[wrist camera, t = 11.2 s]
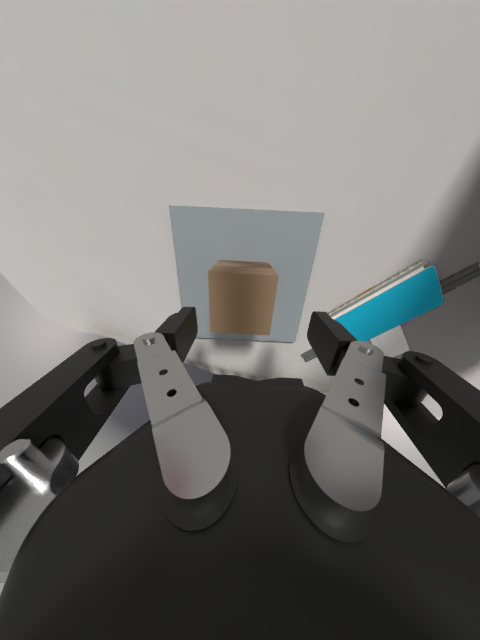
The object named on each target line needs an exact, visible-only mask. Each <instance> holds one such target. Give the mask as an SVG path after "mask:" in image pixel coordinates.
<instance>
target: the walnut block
mask: <svg viewBox="0 0 480 640" xmlns="http://www.w3.org/2000/svg"><path fill="white" fill-rule="evenodd" d="M278 277H279V275H278V274H277V273H276V271H275V270H274V269H273V268H272V266H271V265H270V264H269V263H268V262H250V261H232V260H219V261H218V262H217V263H216V264H215V265H214V266H213V267H212V268H211V269H210V270H209V271H208V284H209V312H210V332H214V333H233V334H251V335H269V336H270V330H271V324H272V317H273V310H274V304H275V297H276V290H277V284H278Z"/></svg>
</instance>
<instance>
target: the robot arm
mask: <svg viewBox="0 0 480 640" xmlns="http://www.w3.org/2000/svg"><path fill="white" fill-rule="evenodd" d="M197 333H198V325H197V315H196V309H195V307H183V308H182V309H181V310H180V311H179V312H178V313H175V314H173V315H171V316H169V317H168V318H167V319H166V321H165V322H164V323H163V324H162V325H161V326H160V327H159V328H158V329H157V330H156V331H155V332H153V333H147V334H144V335H141V336H139V337H138V338H136V339H135V341H134V344H130V345H123V346H118V345H117V342H116V340H115V339H113V338H104V339H98V340H95V341H92V342H90V343H88V344H86V345H85V346H83V347H82V348H81V349H79V350H78V351H77V352H75V353H74V354H73V355H71V356H70V357H69V358H67V359H66V360H65V361H63V362H62V363H61V364H59V365H58V366H57V367H55V368H54V369H53V370H52V371H50V372H49V373H47V374H46V375H45V376H43V377H42V378H41V379H40V380H38V381H37V382H35V383H34V384H33V385H31V386H30V387H29V388H27V389H26V390H25V391H23V392H22V393H21V394H19V395H18V396H17V397H15V398H14V399H13V400H11V401H10V402H9V403H7V404H6V405H5V406H3V407H2V408H1V409H0V583H5V585H4V587H3V590H2V593H1V595H0V640H480V391H479V390H478V389H477V388H475V387H474V386H472V385H471V384H470V383H468V382H467V381H466V380H464V379H463V378H461V377H460V376H459V375H457V374H456V373H454V372H453V371H452V370H450V369H449V368H448V367H446V366H445V365H443V364H442V363H441V362H439V361H438V360H436V359H434V358H432V357H430V356H427V355H425V354H422V353H418V352H412V351H407V352H404V354H403V355H402V357H401V359H397V358H393V357H388V356H384V353H383V351H382V350H381V349H380V348H378V347H377V346H375V345H373V344H370V343H367V342H364V341H358V340H357V339H356V338H355V337H354V336H353V335H352V334H351V333H350V332H348V330H347V329H346V328H345V327H344V326H343V325H342V324H341V323H339V322H338V321H336V320H334V319H332V318H331V317H330V316H329V315H328V314H327V313H326V312H313V313H312V315H311V319H310V324H309V328H308V332H307V338H308V341H309V343H310V345H311V346H312V348H313V350H314V352H315V354H316V356H317V357H318V359H319V361H320V363H321V365H322V366H323V368H324V370H325V372H326V374H327V375H329V376H335V378H334V380H333V382H332V384H331V386H330V389H329V391H328V393H327V395H326V396H325V395H324V394H322V393H320V392H319V391H317V390H314V389H312V388H309V387H306V386H304V385H303V382H302V379H297V378H274V379H268V380H262V381H254V380H251V379H247V378H243V377H239V376H234V375H213V379H212V381H210V382H206V383H203V384H200V385H198V386H195V385H194V383H193V381H192V380H191V378H190V376H189V374H188V373H187V371H186V369H185V367H184V365H183V362H184V360H185V358H186V356H187V354H188V352H189V350H190V348H191V346H192V344H193V342H194V340H195V338H196V336H197ZM94 378H95V380H96V382H97V385H96V386H95V387H94V388H93V389H92V390H91V391H90V393H89V394H88V395H87V396H86V397H84V391H85V388H86V386H87V385H88V384H89V383H90V382H91V381H92V380H93V379H94ZM140 383H142V385H143V390H144V394H145V399H146V403H147V407H148V411H149V416H150V420H149V421H148V422H147V423H145V424H144V425H143V426H141V427H140V428H139V429H138V430H136V431H135V432H134V433H132V434H131V435H130V436H128V437H127V438H126V439H124V440H123V441H122V442H120V443H119V444H118V445H116V446H115V447H114V448H112V449H111V450H110V451H109V452H107V453H106V454H105V455H103V456H102V457H101V458H99V459H98V460H97V461H95V462H94V463H93V464H92V465H90V466H89V467H88V468H86V469H85V470H84V471H82V472H81V473H80V474H79V475H77V473H78V470H79V462H78V461H79V459H80V458H81V456H82V455H83V454H84V452H85V451H86V449H87V448H88V446H89V445H90V444H91V442H92V441H93V439H94V438H95V436H96V435H97V433H98V432H99V430H100V429H101V428H102V426H103V425H104V423H105V422H106V420H107V419H108V417H109V416H110V415H111V413H112V412H113V410H114V409H115V407H116V406H117V404H118V403H119V402H120V400H121V399H122V397H123V396H124V394H125V393H126V391H127V390H128V388H129V387H130V385H135V384H140ZM427 394H429V395H430V396H431V397H432V398H433V399H434V400H435V401H436V402H437V403H438V404H439V405H440V406H441V408H442V411H443V416H442V418H441V419H440V420H439V421H438V420H437V419H436V418H435V417H434V416H433V415H432V414H431V412H430V411H429V410H428V409H427V408H426V407H425V406H424V405H423V404H422V403H421V402H422V400H423V399H424V398H425V396H426V395H427ZM384 404H385V405H386V406H387V408H388V409H389V410H390V412H391V413H392V414H393V416H394V417H395V419H396V420H397V421H398V423H399V424H400V426H401V427H402V428H403V430H404V431H405V432H406V434H407V435H408V437H409V438H410V439H411V441H412V442H413V443H414V445H415V446H416V448H417V449H418V450H419V452H420V453H421V455H422V456H423V457H424V459H425V460H426V461H427V463H428V464H429V466H430V467H431V468H432V470H433V471H434V472H435V474H436V475H437V476H438V478H439V479H440V481H441V482H442V483H443V485H444V486H445V488H446V489H447V490H446V489H445V488H444V487H443V486H441V485H440V484H439V483H437V482H436V481H435V480H434V479H432V478H431V477H430V476H428V475H427V474H426V473H425V472H423V471H422V470H421V469H419V468H418V467H417V466H416V465H414V464H413V463H412V462H411V461H409V460H408V459H407V458H405V457H404V456H403V455H402V454H400V453H399V452H398V451H396V450H395V449H394V448H392V447H391V446H390V445H389V444H387V443H386V442H385V441H384V440H382V439H381V430H382V419H383V407H384ZM76 475H77V476H76Z"/></svg>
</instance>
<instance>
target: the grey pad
mask: <svg viewBox="0 0 480 640" xmlns="http://www.w3.org/2000/svg"><path fill="white" fill-rule="evenodd" d="M169 208H170V216H171V225H172V233H173V241H174V249H175V257H176V266H177V274H178V282H179V290H180V298H181V307H182V308H183V307H195V309H196V315H197V325H198V333H197V336H196V337H199V338H219V339H240V340H260V341H281V342H295V340H296V336H297V331H298V327H299V323H300V318H301V314H302V309H303V305H304V301H305V296H306V292H307V287H308V283H309V279H310V274H311V270H312V265H313V261H314V257H315V252H316V248H317V243H318V239H319V235H320V230H321V226H322V221H323V217H324V213H316V212H295V211H274V210H253V209H231V208H210V207H189V206H169ZM219 260H232V261H250V262H268V263H269V264H270V265H271V266H272V268H273V269H274V270H275V271H276V273H277V274H278V275H279V277H278V284H277V290H276V297H275V304H274V310H273V317H272V324H271V330H270V336H269V335H251V334H233V333H214V332H210V312H209V284H208V271H209V270H210V269H211V268H212V267H213V266H214V265H215V264H216V263H217V262H218V261H219Z"/></svg>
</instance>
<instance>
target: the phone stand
mask: <svg viewBox="0 0 480 640" xmlns="http://www.w3.org/2000/svg"><path fill="white" fill-rule="evenodd" d="M428 263H430V262H426V260H425V261H421V260H420V261H418V262H416V263H414V264H413V265H411V266H409V267H407V268H406V269H404V270H402V271H400V272H398V273H397V274H395V275H393V276H392V277H390V278H388V279H386V280H384V281H383V282H381V283H379V284H378V285H376V286H374V287H372V288H370V289H368V290H367V291H365V292H363V293H361V294H359V295H358V296H357V297H355V298H353V299H350V301H348V302H346V303H344V304H343V305H341V306H339V307H337V308H336V309H334V310H332V311H329V313H327V314H328V315H329V316H330V317H331V318H332V319H334V320H336V321H338V322H339V323H341V324H342V325H343V326H344V327H345V328H346V329H347V330H348V332H350V333H351V334H352V335H353V336H354V337H355V338H356V339H357V340H358V341H364V342H366V341H368V340H370V342H371V344H373V345H375V346H377V347H378V348H380V349H381V350H382V351H383V353H384V356H388V357H395V356H397V355H400V354H402V353H404V352H407V351H409V350H410V349H409V346H408V344H407V341H406V339H405V336H404V334H403V331H402V328H401V326H400V325H401V324H403V323H405V322H407V321H409V320H412V319H414V318H416V317H418V316H420V315H422V314H424V313H426V312H428V311H430V310H432V309H434V308H436V307H438V306H440V305H442V303H443V302H444V299H443V294H445V293H447V292H449V291H451V290H453V289H455V288H456V287H458V286H460V285H462V284H464V283H466V282H468V281H470V280H472V279H474V278H476V277H478V276H480V270H478V269H479V263H477V264H475V265H473V266H471V267H470V268H468V269H466V270H464V271H462V272H460V273H458V274H456V275H454V276H453V275H452V276H450V277H448V278H446V279H444V280H442V281H440V282H439V278H438V274H437V270H436V267H435V266H429V267H427V268H425V269H424V267H423V266H424V265H426V264H428ZM476 270H478V271H476ZM474 271H476V272H474ZM472 272H474V273H472ZM470 273H472V274H470ZM468 274H470V275H468ZM466 275H468V276H466ZM410 276H411V277H410ZM464 276H466V277H464ZM462 277H464V278H462ZM460 278H462V279H460ZM458 279H460V280H458ZM456 280H458V281H456ZM455 281H456V282H455ZM313 353H314V354H313ZM311 354H312V355H311ZM309 355H310V356H309ZM301 356H302V357H303V358H305V357H307V356H308V357H307V358H305V359H304V360H305V361H306V362H308V361H310V360H312V359H314V358H316V357H317V356H316V354H315V352H314V350H313V349H311V350H310V351H308V352H306V353H304V354H302V355H301Z"/></svg>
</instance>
